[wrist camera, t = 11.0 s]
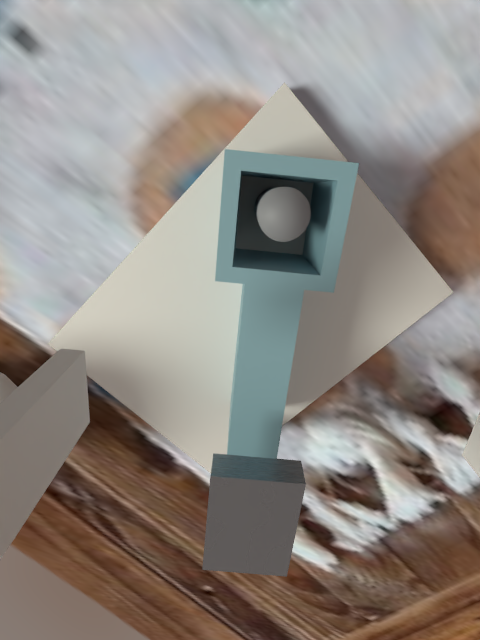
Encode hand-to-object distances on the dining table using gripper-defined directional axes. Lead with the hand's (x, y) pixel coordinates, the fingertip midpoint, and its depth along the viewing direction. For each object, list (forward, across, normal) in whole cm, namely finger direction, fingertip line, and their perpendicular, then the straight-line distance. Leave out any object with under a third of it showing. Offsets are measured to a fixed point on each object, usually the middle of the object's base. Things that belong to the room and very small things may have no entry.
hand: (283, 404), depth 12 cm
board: (+15, -1, -2) cm, 15 cm away
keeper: (+14, 0, -9) cm, 17 cm away
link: (+13, 0, -1) cm, 13 cm away
